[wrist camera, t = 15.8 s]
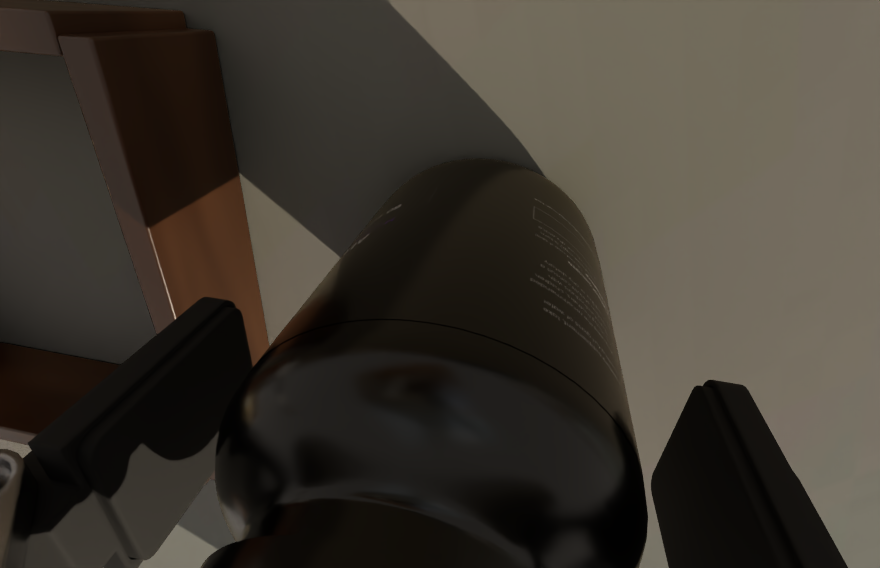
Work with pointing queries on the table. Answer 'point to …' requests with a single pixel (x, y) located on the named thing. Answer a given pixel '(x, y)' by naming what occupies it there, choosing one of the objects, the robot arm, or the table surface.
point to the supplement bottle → (442, 396)
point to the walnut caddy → (141, 180)
